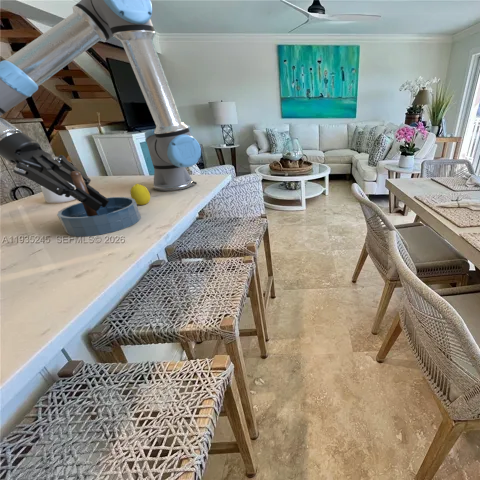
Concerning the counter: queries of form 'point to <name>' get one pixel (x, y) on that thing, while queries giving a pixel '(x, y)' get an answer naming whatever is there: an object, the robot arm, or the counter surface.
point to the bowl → (100, 217)
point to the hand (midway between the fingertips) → (102, 205)
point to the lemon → (140, 194)
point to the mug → (55, 196)
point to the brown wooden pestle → (80, 183)
